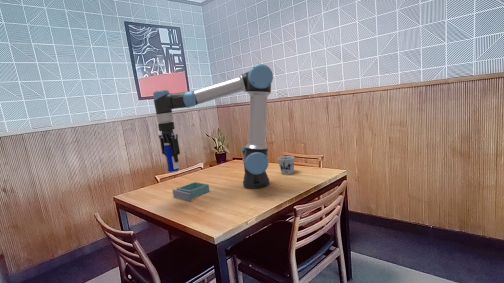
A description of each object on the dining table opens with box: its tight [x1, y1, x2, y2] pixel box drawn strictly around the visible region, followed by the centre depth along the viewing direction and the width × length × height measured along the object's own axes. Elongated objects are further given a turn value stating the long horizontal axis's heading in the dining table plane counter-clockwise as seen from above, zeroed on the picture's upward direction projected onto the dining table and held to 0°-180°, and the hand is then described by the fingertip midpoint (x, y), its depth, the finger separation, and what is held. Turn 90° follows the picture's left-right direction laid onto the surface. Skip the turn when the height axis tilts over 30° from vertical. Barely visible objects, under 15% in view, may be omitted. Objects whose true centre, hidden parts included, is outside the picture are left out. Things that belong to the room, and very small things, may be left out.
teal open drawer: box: [176, 181, 210, 199], centre depth 155 cm, size 13×13×4 cm
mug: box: [277, 155, 295, 175], centre depth 176 cm, size 10×15×10 cm
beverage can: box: [164, 143, 180, 174], centre depth 139 cm, size 5×5×15 cm
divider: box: [172, 188, 193, 202], centre depth 148 cm, size 16×1×4 cm, turn 47°
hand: (173, 168), depth 140 cm, fingers closed on beverage can, 5 cm apart
